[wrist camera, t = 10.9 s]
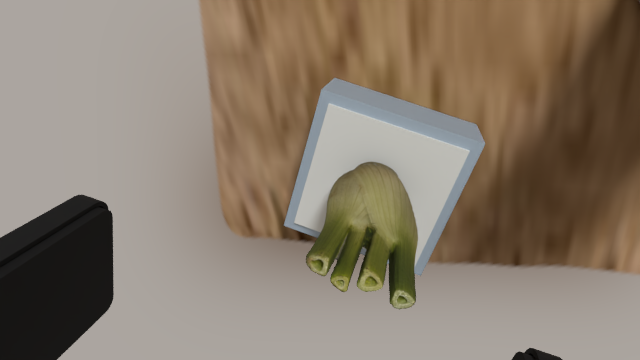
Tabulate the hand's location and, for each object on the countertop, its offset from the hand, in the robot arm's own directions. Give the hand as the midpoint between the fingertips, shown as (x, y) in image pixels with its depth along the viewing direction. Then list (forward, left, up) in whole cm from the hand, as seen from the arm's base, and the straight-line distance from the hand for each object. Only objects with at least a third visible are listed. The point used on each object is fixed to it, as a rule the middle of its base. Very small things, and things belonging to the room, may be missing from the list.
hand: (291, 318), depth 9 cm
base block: (-2, +6, -27) cm, 28 cm away
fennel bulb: (-2, +6, -22) cm, 23 cm away
